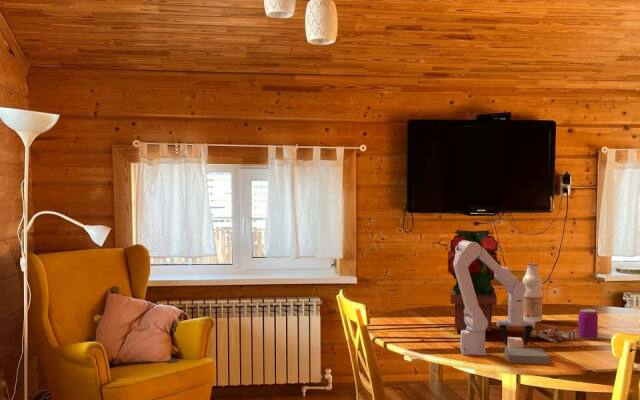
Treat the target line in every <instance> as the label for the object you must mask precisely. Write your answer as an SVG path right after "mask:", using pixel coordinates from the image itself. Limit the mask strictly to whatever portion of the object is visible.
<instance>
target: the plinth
mask: <svg viewBox="0 0 640 400" xmlns="http://www.w3.org/2000/svg"><path fill="white" fill-rule="evenodd" d="M504 356H505V357H506V359H507V361H508V362H509V364H520V365H521V364H522V365H523V364H525V365H549V366H550V356H549V355H548V353H547V352H546V351H545V350H544V349H543V348H542V347H523V348H522V347H508V346H504Z"/></svg>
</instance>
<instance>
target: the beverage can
mask: <svg viewBox="0 0 640 400" xmlns="http://www.w3.org/2000/svg"><path fill="white" fill-rule="evenodd" d="M598 316H599V315H598V312H597V311H596V310H595V309H593V308H581V309H580V310H579V313H578V321H577V323H578V325H577V326H578V328H577V329H578V330H577V332H578V333H577V335H578V336H579V338H580V339H583V340H589V341H590V340H591V341H592V340H596V339H597V338H598V335H599V334H598V330H599V328H598V327H599V326H598V325H599V323H598V321H599V317H598Z"/></svg>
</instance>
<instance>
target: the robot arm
mask: <svg viewBox="0 0 640 400" xmlns="http://www.w3.org/2000/svg"><path fill="white" fill-rule="evenodd" d="M455 252H456V253H455V258H454V263H453V267H454V270H455V274H456V277H457V281H458V284H459V288H460V291H461V295H462V298H463V302H464V305H465V309H464V322H465V324H466V325H467V327H466V330H461V333H460V344H459V348H460V349H459V350H460V352H461V355H464V356H488V354H487V351H486V334H485V329H486V328H487V326H488V320H487V318H486V317H485V316H484V314H483V311H482V310H481V308H480V307H479V305H478V301H477V298H476V294H475V291H474V287H473V284H472V280H471V277H470V273H469V270H468V267H469V265H470V264H471V262H472V261H474V260H475V259H476V258H478V259H480V260H481V261H483V262H484V263H485V264H486V265H487V266H488V267H489V268H490V269H491V270H493V271H494V276H495V277H494V279H496V280H497V281H498V282H500V284H501V285H502V286H504V288H505V291H506V292H507V294H508V295H507V296H508V297H507V302H508V305H507V306H508V307H507V311H508V312H507V317H508V318H507V319H503V320H502V319H501V320H499V319H498V320H496V326H497V327H499V330H500V331H501V334H502V337H503V343H504V344H503V345H505V346H508V328H507V327H523V330H524V331H523V332H524V334H523V335H524V339H523V345H524V346H527V345H528V341H529V338H530V334H531V332H532V330H534V329H533V328H535V327H536V322H534V321H523V298H524V294H525V292H526V288H525V285H524V283H523V282H522V281H521V280H518V279H519V278H518V276H517V275H514V273H512V271H511V269H510V268H509V267H508V266H507V267H506V266H505V265H504V266H501V264H500V265H499V264H498V263H497V262H496V261H495V260H494V259H493V258H492V257H491V256H490V255H489V254H488V253H487V251H486V250H485V249H484V248H483V247H481V246H480V245H479V244H478V243H476V242H470V241H467V240H463V241H461V242H459V244H458V245H457V247H456V248H455Z"/></svg>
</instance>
